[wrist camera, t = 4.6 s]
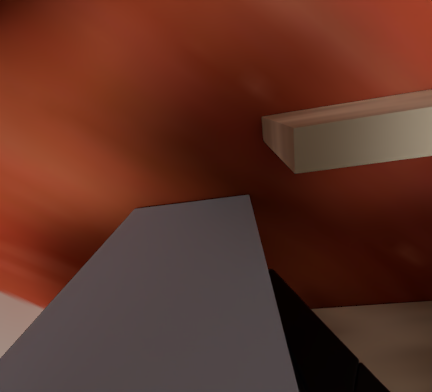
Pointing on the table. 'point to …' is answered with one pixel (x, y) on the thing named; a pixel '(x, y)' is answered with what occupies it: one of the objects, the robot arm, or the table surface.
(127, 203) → the table surface
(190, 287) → the slate block
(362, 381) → the robot arm
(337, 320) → the u-shaped bracket
